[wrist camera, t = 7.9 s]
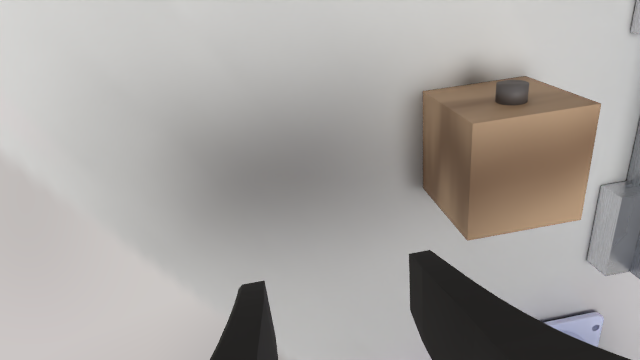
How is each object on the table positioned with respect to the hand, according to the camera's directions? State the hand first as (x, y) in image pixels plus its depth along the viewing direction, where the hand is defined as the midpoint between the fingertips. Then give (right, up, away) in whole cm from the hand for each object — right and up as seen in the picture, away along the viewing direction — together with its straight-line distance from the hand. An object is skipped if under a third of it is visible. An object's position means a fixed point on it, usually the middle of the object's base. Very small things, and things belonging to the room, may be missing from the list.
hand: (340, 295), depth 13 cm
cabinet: (+7, +6, +9) cm, 13 cm away
